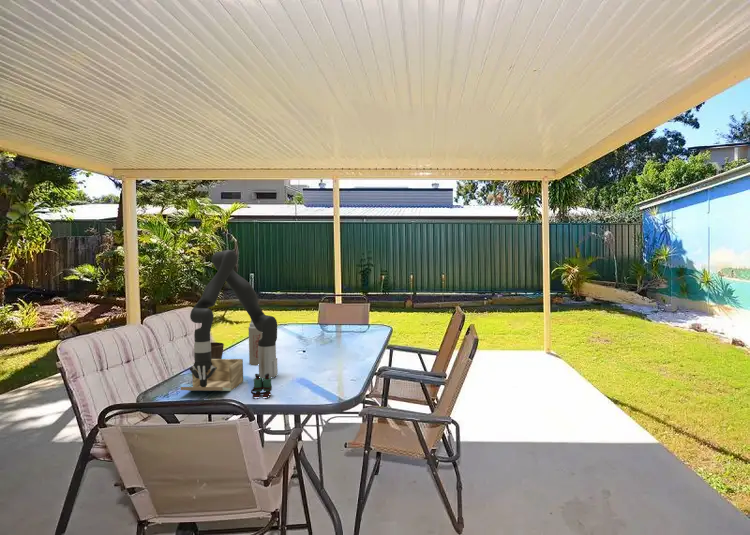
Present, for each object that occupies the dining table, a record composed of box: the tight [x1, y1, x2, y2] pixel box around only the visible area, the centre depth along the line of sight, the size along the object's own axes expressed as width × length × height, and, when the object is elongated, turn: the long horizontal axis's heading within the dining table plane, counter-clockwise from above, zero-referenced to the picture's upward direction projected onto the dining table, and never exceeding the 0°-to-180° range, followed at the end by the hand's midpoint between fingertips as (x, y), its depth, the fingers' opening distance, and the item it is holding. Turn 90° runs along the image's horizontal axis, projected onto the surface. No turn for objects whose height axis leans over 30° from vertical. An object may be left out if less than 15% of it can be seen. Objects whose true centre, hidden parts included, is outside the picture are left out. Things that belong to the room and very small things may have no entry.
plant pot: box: [210, 341, 225, 359], centre depth 281 cm, size 15×15×16 cm
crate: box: [191, 358, 244, 391], centre depth 255 cm, size 20×16×12 cm
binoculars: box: [250, 373, 273, 398], centre depth 234 cm, size 9×11×10 cm
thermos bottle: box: [248, 319, 262, 366], centre depth 302 cm, size 8×8×28 cm
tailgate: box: [180, 386, 232, 392], centre depth 240 cm, size 20×1×12 cm
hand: (203, 387), depth 237 cm, fingers closed
